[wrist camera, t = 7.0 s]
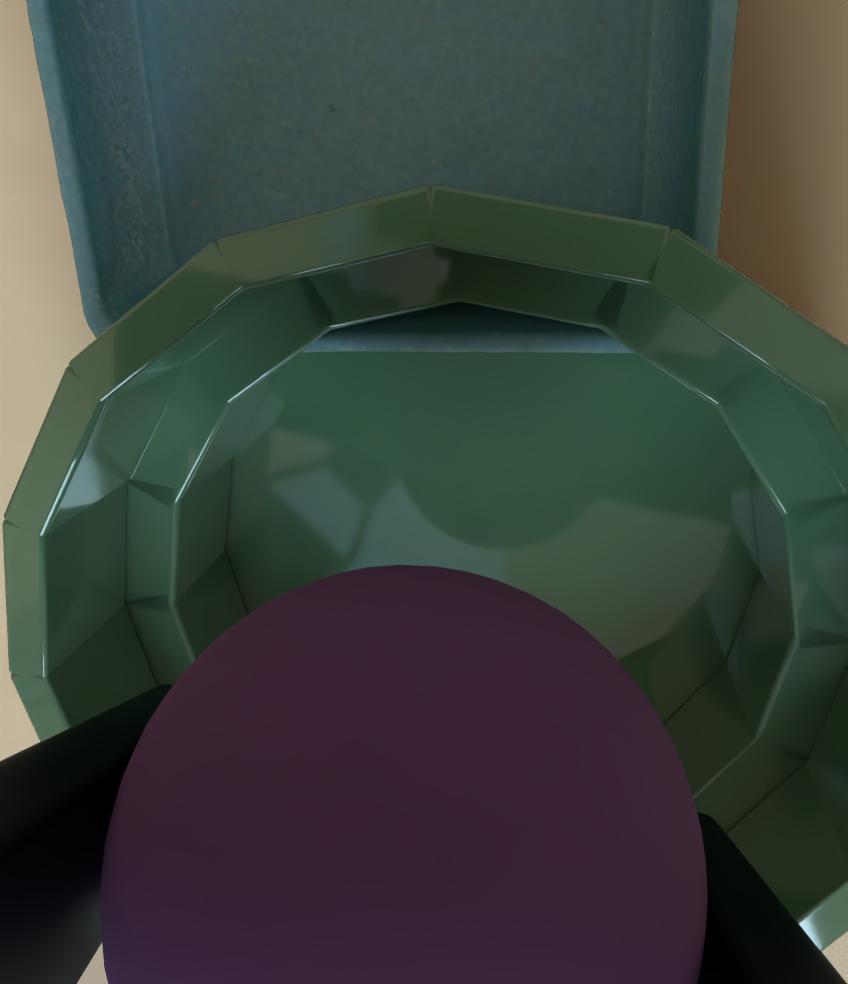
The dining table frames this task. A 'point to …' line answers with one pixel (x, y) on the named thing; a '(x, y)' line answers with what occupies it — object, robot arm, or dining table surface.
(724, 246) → the dining table surface
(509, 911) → the ball
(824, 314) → the dining table surface
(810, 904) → the bowl
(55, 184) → the dining table surface
